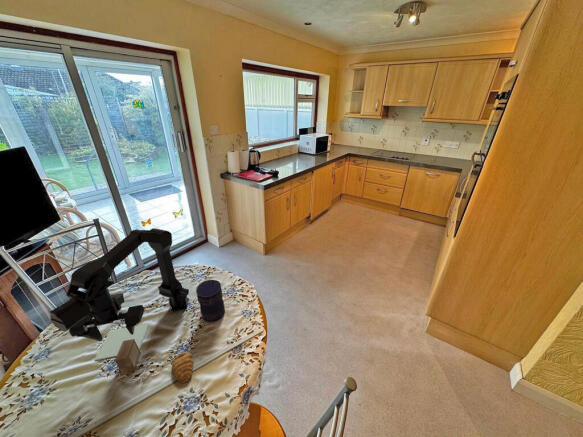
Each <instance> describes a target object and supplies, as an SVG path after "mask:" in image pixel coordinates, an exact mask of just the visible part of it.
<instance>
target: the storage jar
mask: <svg viewBox="0 0 583 437" xmlns="http://www.w3.org/2000/svg"><path fill="white" fill-rule="evenodd" d="M222 289H223V288H222V285H221V282H220V281H218V280H217V279H207V280H204V281H202V282H200V283H199V284H198V285H197V287H196V289H195V290H196V291H195V292H196V298H197V302H198V304H199V309H200V314H201V318H202V320H203V321H204V322H206V323H208V324H209V323H216V322H219V321H220V320H222V318H224V316H225V314H226V310H225V308H226V307H225V302H224V299H223V290H222Z"/></svg>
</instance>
